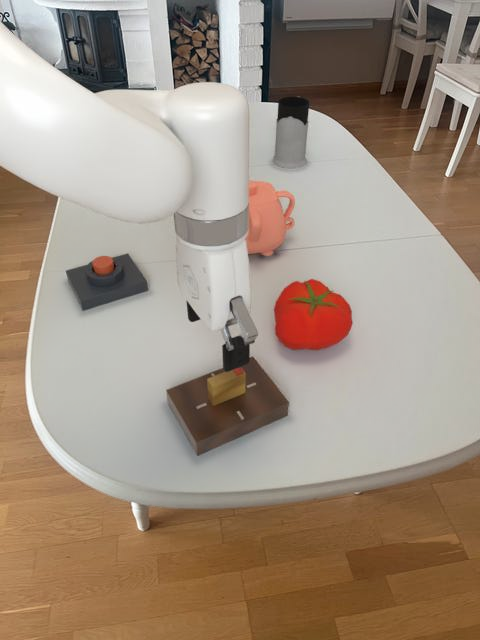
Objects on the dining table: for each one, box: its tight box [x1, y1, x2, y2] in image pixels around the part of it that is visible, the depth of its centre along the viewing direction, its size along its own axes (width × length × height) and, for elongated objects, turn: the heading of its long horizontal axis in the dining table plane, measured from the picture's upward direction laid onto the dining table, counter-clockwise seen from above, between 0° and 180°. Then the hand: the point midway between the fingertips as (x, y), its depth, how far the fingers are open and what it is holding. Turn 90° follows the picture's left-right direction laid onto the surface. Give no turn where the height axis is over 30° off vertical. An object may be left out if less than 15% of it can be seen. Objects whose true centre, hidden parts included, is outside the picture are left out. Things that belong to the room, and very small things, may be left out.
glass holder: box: [272, 95, 310, 169], centre depth 132 cm, size 9×14×15 cm, turn 166°
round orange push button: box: [91, 255, 114, 275], centre depth 92 cm, size 4×4×2 cm
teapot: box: [245, 179, 296, 257], centre depth 102 cm, size 16×17×14 cm
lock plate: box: [165, 355, 290, 457], centre depth 73 cm, size 14×10×3 cm
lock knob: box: [207, 367, 246, 406], centre depth 70 cm, size 5×2×4 cm, turn 118°
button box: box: [65, 253, 149, 311], centre depth 94 cm, size 12×10×4 cm
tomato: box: [273, 278, 353, 351], centre depth 82 cm, size 14×13×9 cm
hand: (217, 340), depth 63 cm, fingers open, 9 cm apart
